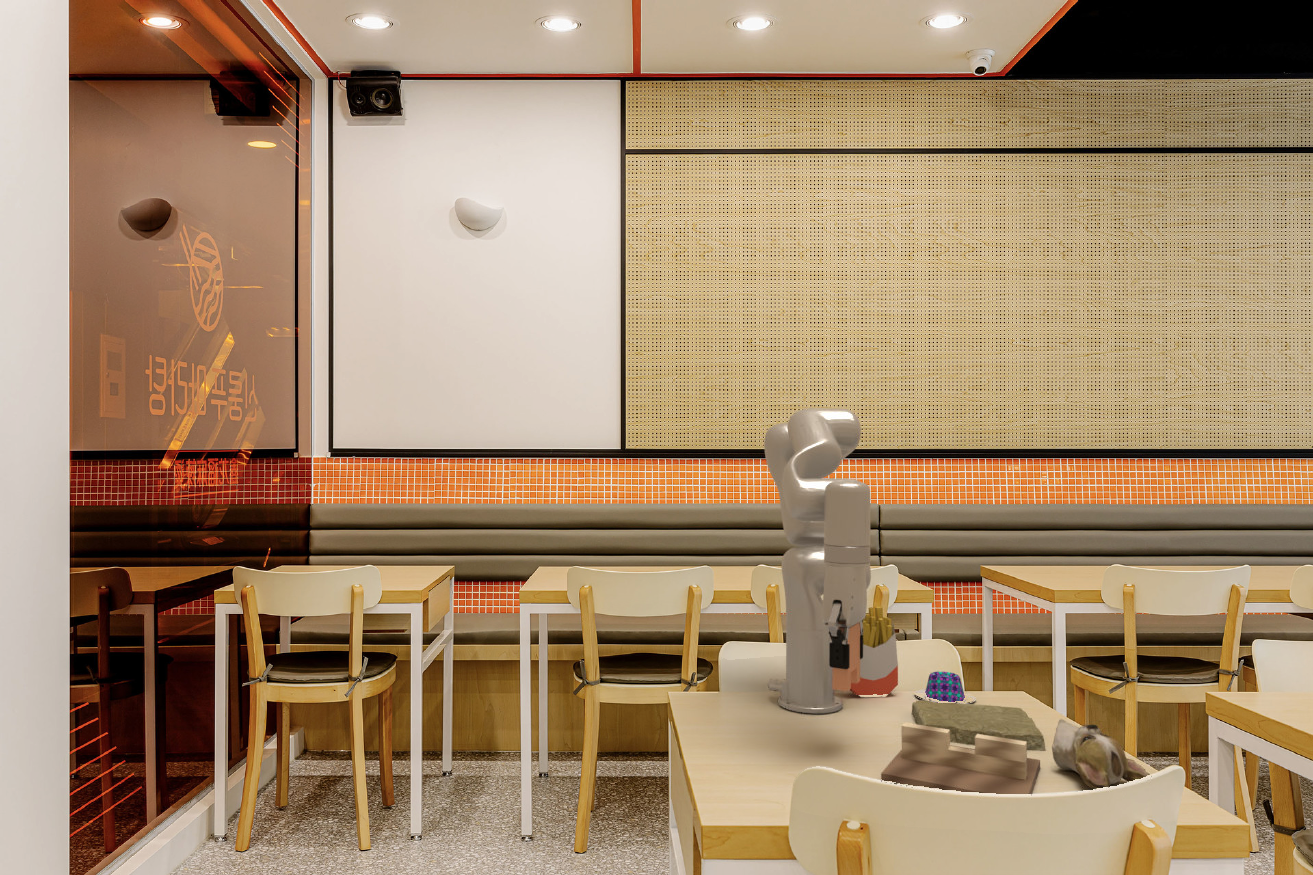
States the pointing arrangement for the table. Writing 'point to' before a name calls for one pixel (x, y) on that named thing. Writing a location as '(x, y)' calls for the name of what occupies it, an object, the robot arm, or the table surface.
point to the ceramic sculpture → (1093, 755)
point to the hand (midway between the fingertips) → (846, 661)
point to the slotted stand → (962, 763)
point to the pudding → (944, 687)
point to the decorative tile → (979, 722)
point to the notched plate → (852, 674)
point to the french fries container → (877, 656)
